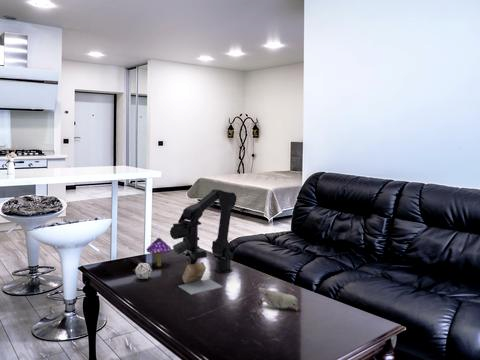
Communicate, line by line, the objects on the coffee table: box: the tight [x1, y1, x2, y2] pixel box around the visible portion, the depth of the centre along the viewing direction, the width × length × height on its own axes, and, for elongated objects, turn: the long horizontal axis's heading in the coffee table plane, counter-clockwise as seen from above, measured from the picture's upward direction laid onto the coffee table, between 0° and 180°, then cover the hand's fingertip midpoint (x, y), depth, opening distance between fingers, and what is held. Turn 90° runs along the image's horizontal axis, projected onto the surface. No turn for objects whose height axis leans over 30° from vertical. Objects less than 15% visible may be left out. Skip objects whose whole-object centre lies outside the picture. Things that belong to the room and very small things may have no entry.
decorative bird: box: [257, 287, 300, 312], centre depth 160 cm, size 5×16×8 cm, turn 72°
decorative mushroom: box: [146, 237, 172, 267], centre depth 211 cm, size 12×12×15 cm
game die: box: [132, 261, 155, 281], centre depth 192 cm, size 9×8×10 cm
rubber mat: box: [178, 278, 224, 296], centre depth 183 cm, size 16×12×1 cm
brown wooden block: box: [181, 261, 207, 284], centre depth 187 cm, size 8×4×9 cm
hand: (191, 268), depth 189 cm, fingers closed
